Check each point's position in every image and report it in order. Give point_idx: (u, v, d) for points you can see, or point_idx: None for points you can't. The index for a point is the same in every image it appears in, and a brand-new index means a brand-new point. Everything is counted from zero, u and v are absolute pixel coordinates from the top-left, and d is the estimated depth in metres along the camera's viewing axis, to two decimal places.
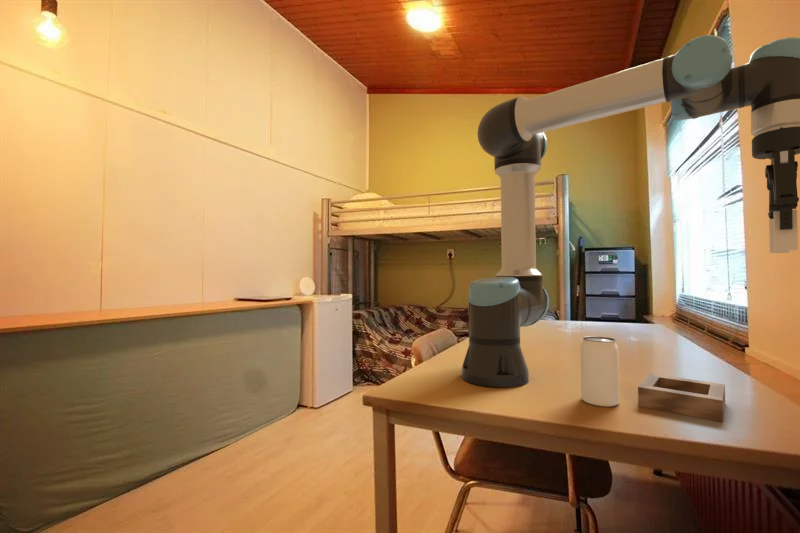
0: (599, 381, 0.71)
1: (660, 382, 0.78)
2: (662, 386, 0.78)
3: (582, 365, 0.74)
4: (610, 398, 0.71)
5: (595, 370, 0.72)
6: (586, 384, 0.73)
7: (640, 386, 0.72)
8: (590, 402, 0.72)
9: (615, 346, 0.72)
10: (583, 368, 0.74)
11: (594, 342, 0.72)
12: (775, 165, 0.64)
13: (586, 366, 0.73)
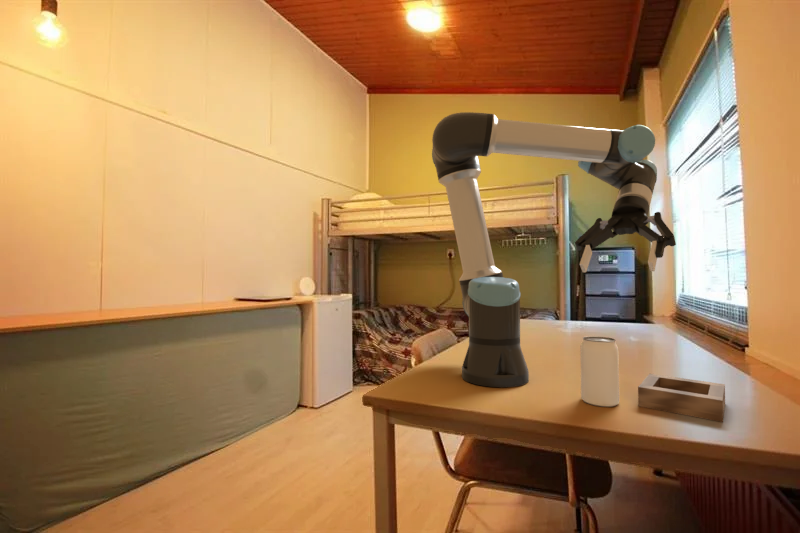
0: (599, 381, 0.71)
1: (660, 382, 0.78)
2: (662, 386, 0.78)
3: (582, 365, 0.74)
4: (610, 398, 0.71)
5: (594, 370, 0.72)
6: (586, 384, 0.73)
7: (640, 386, 0.72)
8: (590, 402, 0.72)
9: (615, 346, 0.72)
10: (583, 368, 0.74)
11: (594, 342, 0.72)
12: (660, 218, 0.87)
13: (586, 366, 0.73)
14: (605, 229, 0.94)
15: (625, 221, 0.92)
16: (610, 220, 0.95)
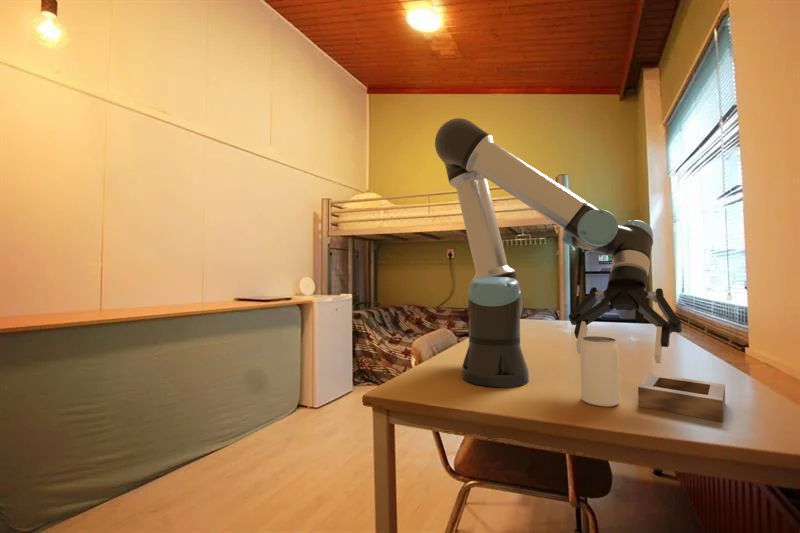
0: (599, 381, 0.71)
1: (660, 382, 0.78)
2: (662, 386, 0.78)
3: (582, 365, 0.74)
4: (610, 398, 0.71)
5: (595, 370, 0.72)
6: (586, 384, 0.73)
7: (640, 386, 0.72)
8: (590, 402, 0.72)
9: (615, 346, 0.72)
10: (583, 368, 0.74)
11: (594, 342, 0.72)
12: (663, 297, 0.79)
13: (586, 366, 0.73)
14: (602, 303, 0.84)
15: (623, 295, 0.83)
16: (606, 292, 0.86)
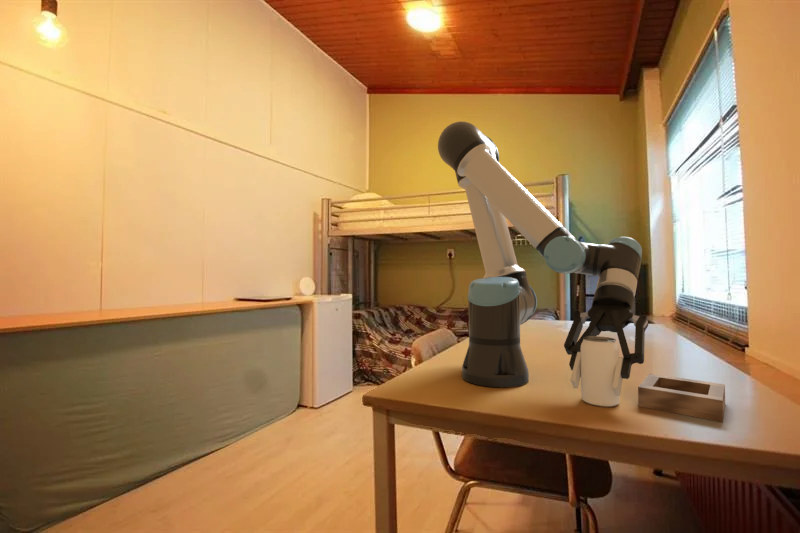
0: (599, 381, 0.71)
1: (660, 382, 0.78)
2: (662, 386, 0.78)
3: (582, 365, 0.74)
4: (610, 398, 0.71)
5: (595, 370, 0.72)
6: (586, 384, 0.73)
7: (640, 386, 0.72)
8: (590, 402, 0.72)
9: (615, 346, 0.72)
10: (583, 368, 0.74)
11: (594, 342, 0.72)
12: (643, 325, 0.75)
13: (586, 366, 0.73)
14: (591, 327, 0.80)
15: (607, 316, 0.80)
16: (591, 312, 0.82)
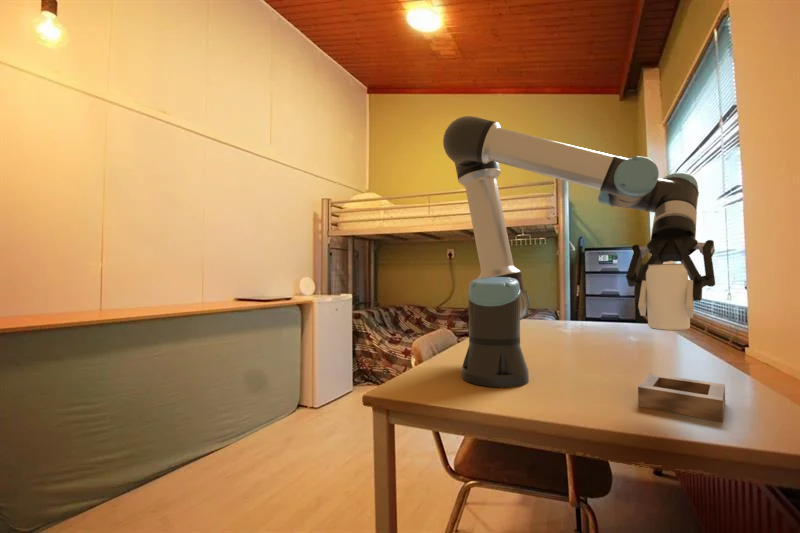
0: (670, 304, 0.70)
1: (660, 382, 0.78)
2: (662, 386, 0.78)
3: (649, 291, 0.73)
4: (681, 321, 0.69)
5: (664, 294, 0.70)
6: (655, 309, 0.71)
7: (640, 386, 0.72)
8: (660, 327, 0.71)
9: (684, 269, 0.70)
10: (650, 295, 0.72)
11: (662, 265, 0.71)
12: (710, 249, 0.73)
13: (654, 291, 0.71)
14: (653, 257, 0.78)
15: (670, 246, 0.78)
16: (651, 244, 0.81)
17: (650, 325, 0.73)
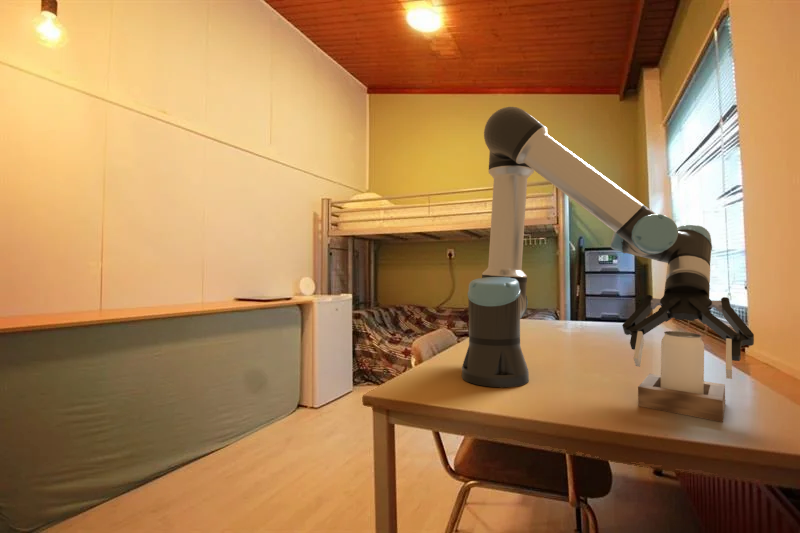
0: (685, 377, 0.70)
1: (660, 382, 0.78)
2: None
3: (664, 361, 0.72)
4: None
5: (680, 366, 0.70)
6: (670, 380, 0.71)
7: (640, 386, 0.72)
8: None
9: (701, 342, 0.70)
10: (665, 364, 0.72)
11: (680, 337, 0.70)
12: (730, 307, 0.73)
13: (670, 362, 0.71)
14: (659, 312, 0.79)
15: (684, 304, 0.78)
16: (664, 300, 0.81)
17: None
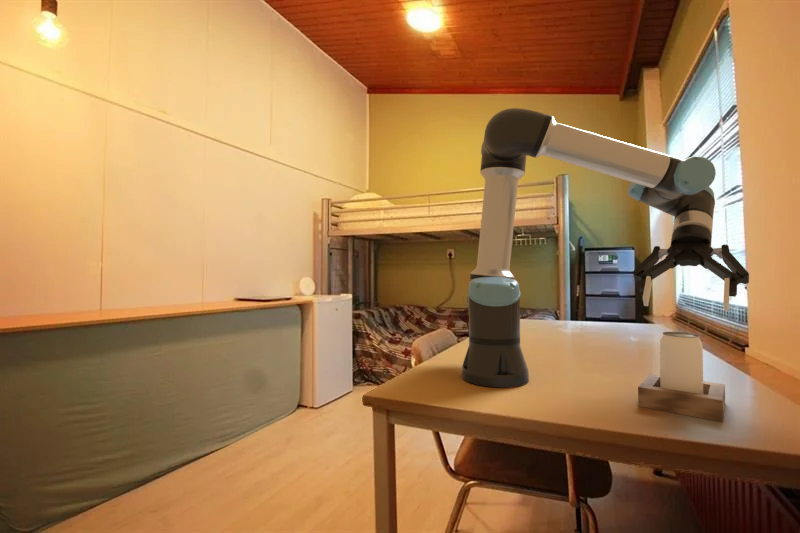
0: (685, 377, 0.70)
1: None
2: None
3: (664, 361, 0.72)
4: None
5: (680, 367, 0.70)
6: (669, 380, 0.71)
7: (640, 386, 0.72)
8: None
9: (700, 341, 0.70)
10: (664, 365, 0.72)
11: (678, 337, 0.70)
12: (729, 252, 0.83)
13: (669, 362, 0.71)
14: (666, 259, 0.89)
15: (688, 252, 0.88)
16: (670, 249, 0.90)
17: None
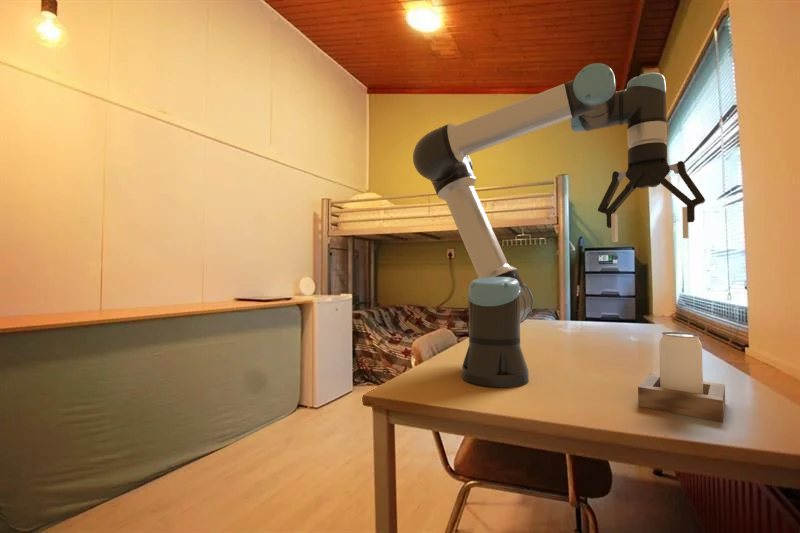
0: (685, 377, 0.70)
1: None
2: None
3: (663, 361, 0.72)
4: None
5: (679, 366, 0.70)
6: (669, 380, 0.71)
7: (640, 386, 0.72)
8: None
9: (699, 341, 0.70)
10: (664, 365, 0.72)
11: (678, 337, 0.71)
12: (685, 171, 0.83)
13: (669, 362, 0.71)
14: (626, 189, 0.90)
15: (646, 176, 0.87)
16: (628, 174, 0.89)
17: None
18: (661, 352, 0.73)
